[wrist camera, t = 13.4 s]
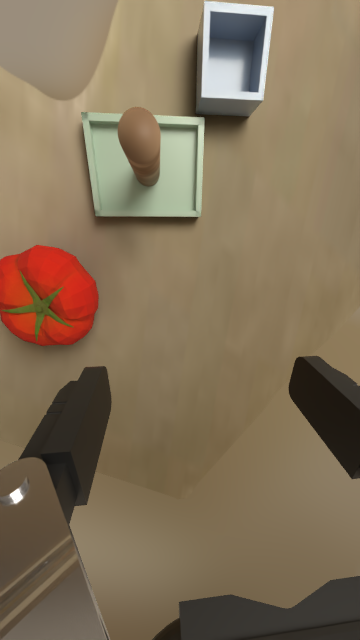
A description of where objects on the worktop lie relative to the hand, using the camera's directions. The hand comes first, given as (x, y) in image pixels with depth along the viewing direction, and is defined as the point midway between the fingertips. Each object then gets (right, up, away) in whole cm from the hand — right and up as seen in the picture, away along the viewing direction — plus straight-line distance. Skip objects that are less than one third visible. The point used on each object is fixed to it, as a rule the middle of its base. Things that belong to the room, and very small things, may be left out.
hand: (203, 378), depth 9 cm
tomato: (-22, +8, +30) cm, 38 cm away
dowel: (-6, +24, +23) cm, 34 cm away
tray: (-6, +25, +24) cm, 35 cm away
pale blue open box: (+5, +35, +20) cm, 41 cm away
